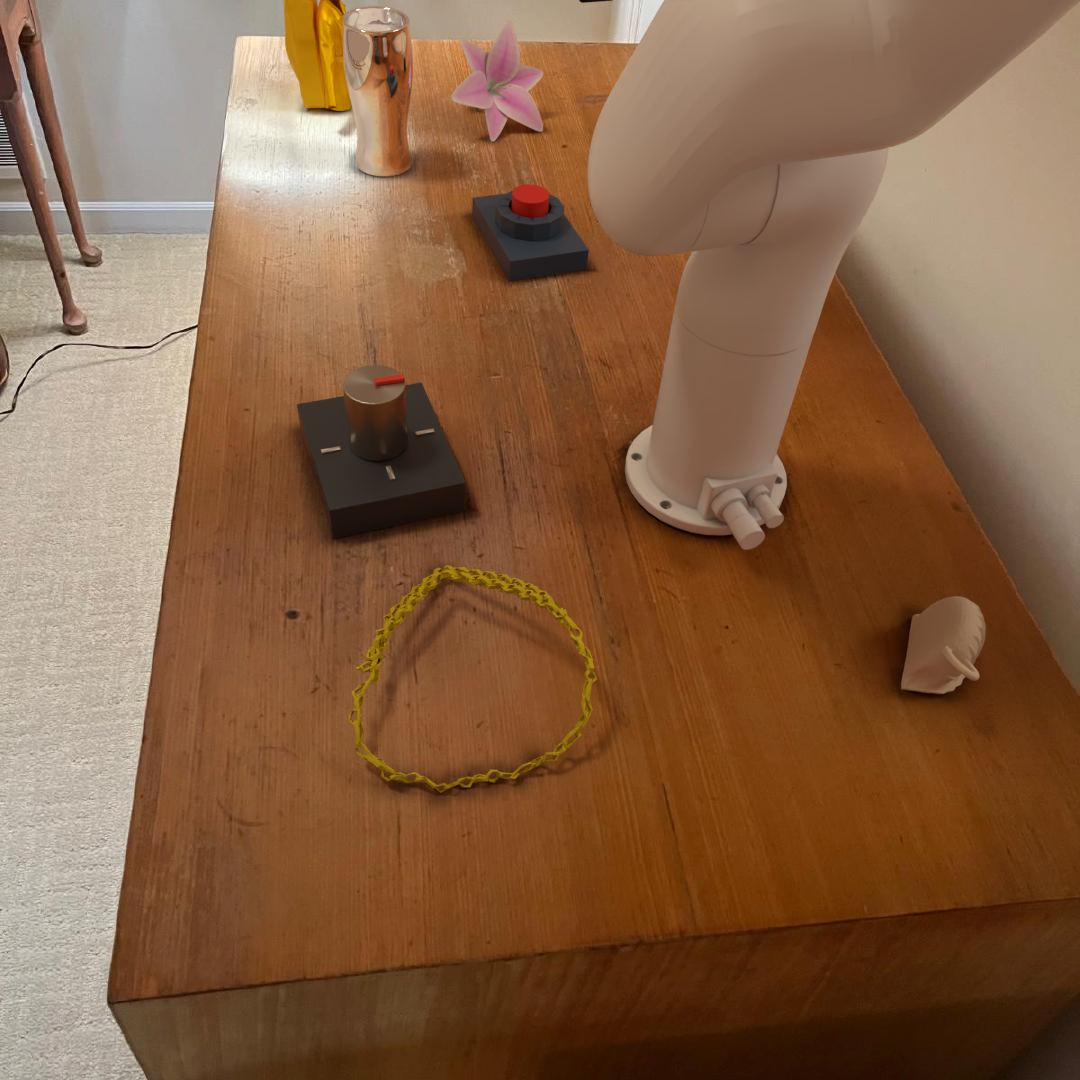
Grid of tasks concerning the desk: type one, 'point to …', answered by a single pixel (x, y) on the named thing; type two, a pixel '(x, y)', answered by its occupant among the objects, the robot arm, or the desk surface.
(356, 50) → the beer glass
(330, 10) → the yellow foil bag
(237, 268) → the desk surface
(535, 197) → the button
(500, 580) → the decorative chain
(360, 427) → the dial
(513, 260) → the button block
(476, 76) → the lily
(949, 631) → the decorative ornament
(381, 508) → the panel
